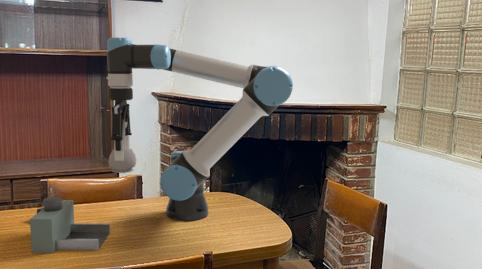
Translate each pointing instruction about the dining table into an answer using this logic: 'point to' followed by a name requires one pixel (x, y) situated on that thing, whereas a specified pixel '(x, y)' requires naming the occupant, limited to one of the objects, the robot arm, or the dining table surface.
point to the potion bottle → (128, 158)
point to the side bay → (84, 236)
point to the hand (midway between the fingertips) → (122, 157)
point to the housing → (51, 224)
